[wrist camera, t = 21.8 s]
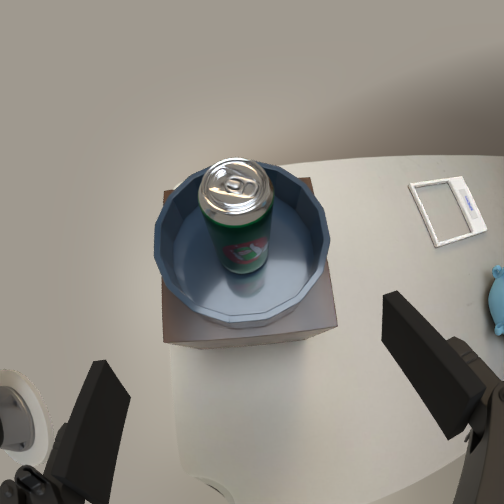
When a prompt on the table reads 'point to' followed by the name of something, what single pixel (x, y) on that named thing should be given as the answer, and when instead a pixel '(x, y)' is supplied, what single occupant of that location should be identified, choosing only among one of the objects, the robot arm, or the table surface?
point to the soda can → (238, 212)
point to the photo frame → (464, 202)
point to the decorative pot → (497, 299)
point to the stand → (282, 330)
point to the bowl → (250, 284)
